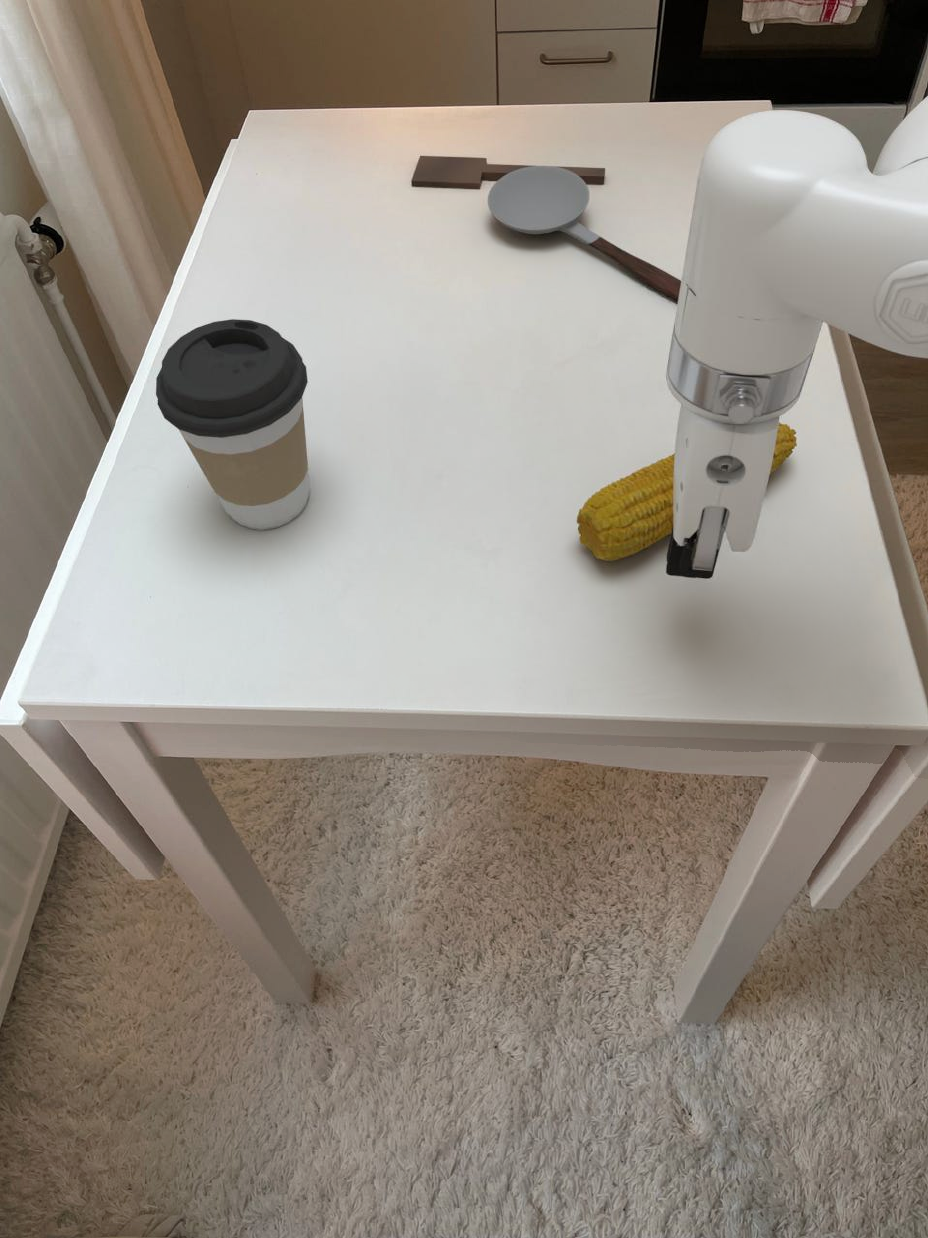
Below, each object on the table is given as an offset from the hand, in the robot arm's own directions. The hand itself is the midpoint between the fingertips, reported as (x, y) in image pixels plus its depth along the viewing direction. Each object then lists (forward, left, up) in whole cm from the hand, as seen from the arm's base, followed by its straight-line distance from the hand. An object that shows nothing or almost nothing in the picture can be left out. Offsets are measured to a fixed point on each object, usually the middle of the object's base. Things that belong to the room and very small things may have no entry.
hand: (688, 568), depth 67 cm
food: (0, -11, -6) cm, 13 cm away
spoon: (+8, -45, -6) cm, 47 cm away
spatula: (+21, -61, -6) cm, 65 cm away
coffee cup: (+35, -8, -6) cm, 36 cm away
